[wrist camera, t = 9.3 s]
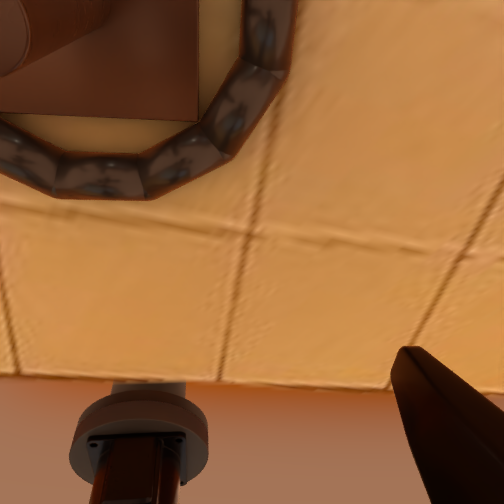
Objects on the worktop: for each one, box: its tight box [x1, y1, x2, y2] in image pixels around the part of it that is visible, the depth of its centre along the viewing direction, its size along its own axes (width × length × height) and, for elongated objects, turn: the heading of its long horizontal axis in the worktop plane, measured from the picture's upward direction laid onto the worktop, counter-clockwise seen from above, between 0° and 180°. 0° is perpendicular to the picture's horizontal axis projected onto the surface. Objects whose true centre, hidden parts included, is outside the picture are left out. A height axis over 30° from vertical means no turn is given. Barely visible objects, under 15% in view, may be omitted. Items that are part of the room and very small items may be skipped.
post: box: [0, 0, 199, 122], centre depth 11 cm, size 8×8×9 cm
